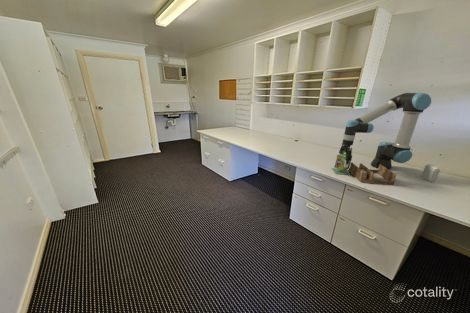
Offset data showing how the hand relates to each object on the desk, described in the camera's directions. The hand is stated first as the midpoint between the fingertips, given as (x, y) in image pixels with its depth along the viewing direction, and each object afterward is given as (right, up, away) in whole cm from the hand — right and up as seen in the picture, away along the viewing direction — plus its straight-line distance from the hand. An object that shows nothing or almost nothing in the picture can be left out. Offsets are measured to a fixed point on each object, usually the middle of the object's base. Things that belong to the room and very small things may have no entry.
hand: (342, 164), depth 155 cm
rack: (+18, -10, -7) cm, 21 cm away
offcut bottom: (+10, -11, -9) cm, 17 cm away
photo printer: (+62, -12, -10) cm, 64 cm away
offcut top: (+10, -8, -10) cm, 16 cm away
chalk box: (0, -3, +1) cm, 4 cm away
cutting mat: (0, -7, +2) cm, 7 cm away
